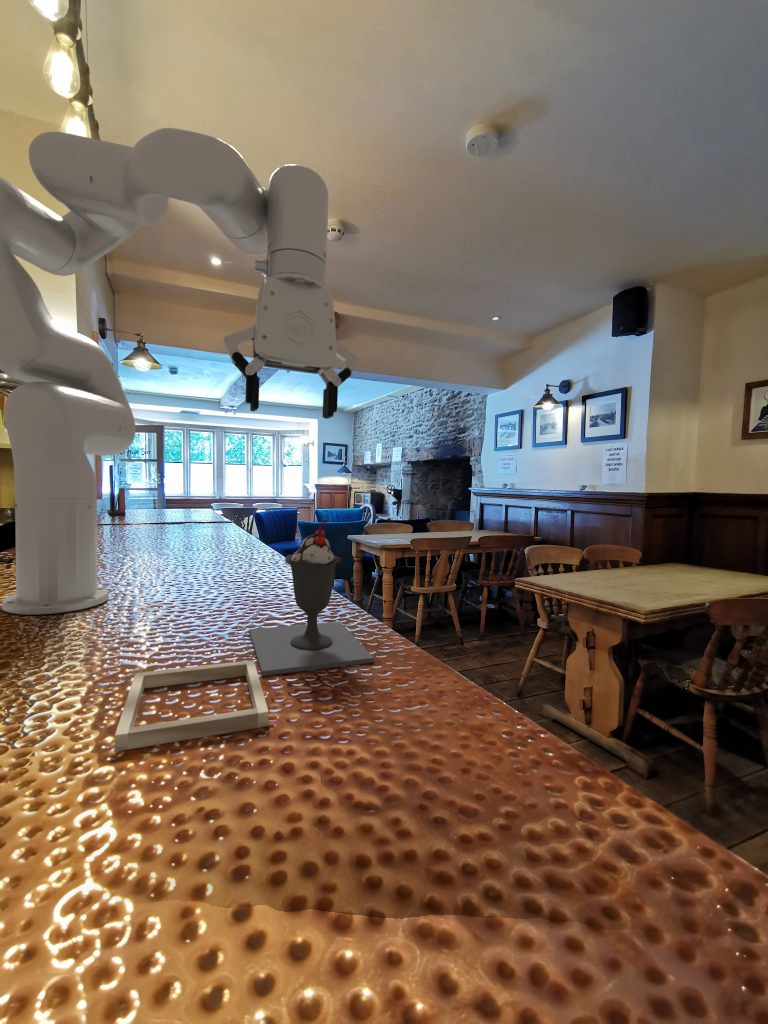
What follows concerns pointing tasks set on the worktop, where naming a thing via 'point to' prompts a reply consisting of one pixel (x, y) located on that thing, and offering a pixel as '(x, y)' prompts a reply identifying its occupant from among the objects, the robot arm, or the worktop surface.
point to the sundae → (313, 585)
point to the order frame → (190, 727)
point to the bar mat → (286, 658)
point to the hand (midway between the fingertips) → (292, 413)
